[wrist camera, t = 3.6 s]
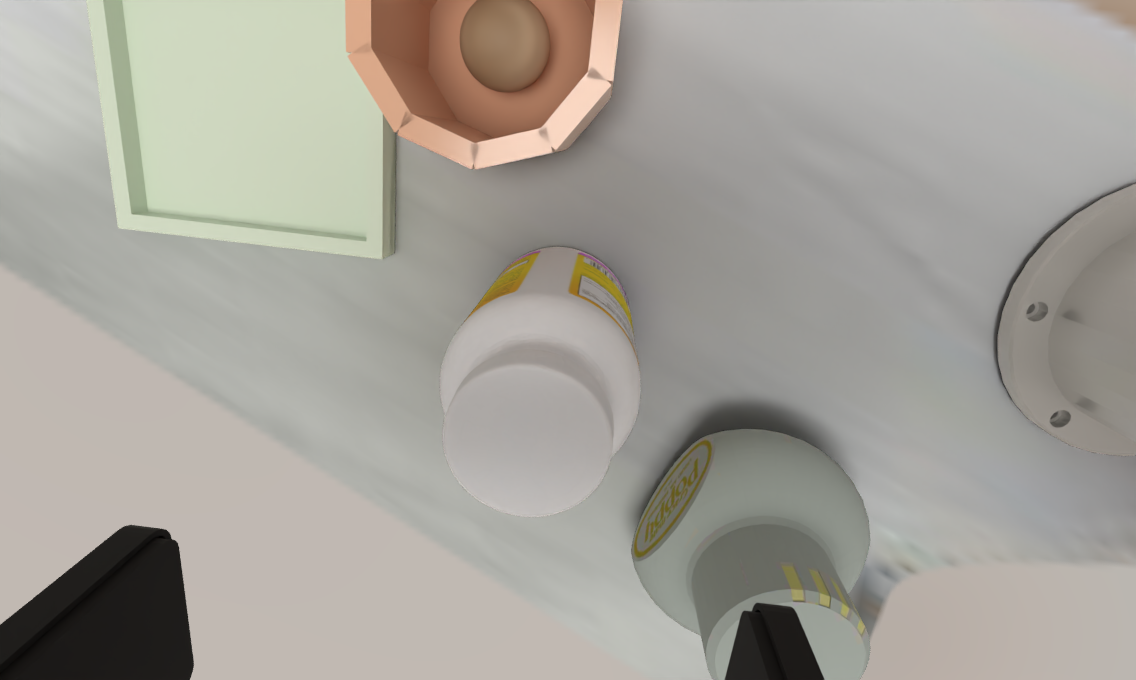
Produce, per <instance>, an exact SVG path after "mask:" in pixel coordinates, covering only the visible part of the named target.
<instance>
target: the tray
mask: <svg viewBox="0 0 1136 680" xmlns="http://www.w3.org/2000/svg"><path fill="white" fill-rule="evenodd" d="M86 2H87V9H88V17H89V24H90V31H91V38H92V45H93V52H94V59H95V66H96V74H97V81H98V88H99V95H100V102H101V109H102V116H103V123H104V131H105V138H106V145H107V152H108V159H109V166H110V173H111V180H112V188H113V195H114V202H115V209H116V216H117V223H118V228H121V229H130V230H138V231H147V232H155V233H164V234H172V235H180V236H189V237H197V238H206V239H214V240H223V241H231V242H240V243H248V244H257V245H265V246H274V247H282V248H290V249H299V250H307V251H316V252H324V253H333V254H341V255H350V256H358V257H367V258H375V259H384V258H386V257H388V256H390V255H392V254H394V253H395V172H396V132H394V131H393V129H392V127H391V126H390V124H389V123H388V121H387V119H386V118H385V116H384V115H383V113H382V111H381V110H380V108H379V107H378V105H377V103H376V102H375V100H374V99H373V97H372V95H371V94H370V92H369V90H368V89H367V87H366V86H365V84H364V82H363V81H362V79H361V78H360V76H359V74H358V73H357V71H356V70H355V68H354V66H353V65H352V63H351V61H350V60H349V58H348V57H347V56H348V55H349V54H350V53H348V52H346V23H345V0H86Z"/></svg>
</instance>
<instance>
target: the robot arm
mask: <svg viewBox="0 0 1136 680" xmlns="http://www.w3.org/2000/svg"><path fill="white" fill-rule="evenodd" d="M998 363H999V367H1000V371H1001V375H1002V379H1003V383H1004V385H1005V387H1006V389H1007V391H1008V393H1009V395H1010V396H1011V398H1012V400H1013V402H1014V403H1015V405H1016V406H1017V407H1018V408H1019V409H1020V410H1021V411H1022V412H1023V414H1024V415H1025V416H1026V417H1027V418H1028V419H1029V420H1030V421H1032V422H1033V423H1035V424H1036V425H1037V426H1039V427H1040V428H1042V429H1043V430H1044V431H1046V432H1047V433H1049V434H1050V435H1052V436H1054V437H1056V438H1057V439H1059V440H1061V441H1063V442H1065V443H1066V444H1068V445H1070V446H1073V447H1077V448H1080V449H1083V450H1086V451H1089V452H1093V453H1099V454H1107V455H1115V456H1133V455H1136V184H1133V185H1131V186H1129V187H1126V188H1124V189H1122V190H1119V191H1117V192H1115V193H1112V194H1110V195H1108V196H1105V197H1103V198H1102V199H1100V200H1098V201H1097V202H1095V203H1093V204H1092V205H1090V206H1089V207H1087V208H1085V209H1084V210H1082V211H1080V212H1079V213H1077V214H1076V215H1074V216H1073V217H1072V218H1071V219H1070V220H1068V221H1067V222H1066V223H1065V224H1064V225H1062V226H1061V227H1060V228H1059V229H1058V230H1056V231H1055V232H1054V233H1053V234H1052V235H1051V236H1050V237H1049V238H1048V239H1047V240H1046V241H1045V242H1044V243H1043V245H1042V246H1041V247H1040V248H1039V249H1038V250H1037V251H1036V252H1035V254H1034V255H1033V256H1032V257H1031V258H1030V259H1029V261H1028V262H1027V264H1026V266H1025V267H1024V269H1023V270H1022V272H1021V274H1020V275H1019V277H1018V278H1017V280H1016V281H1015V283H1014V285H1013V287H1012V289H1011V292H1010V294H1009V297H1008V299H1007V302H1006V304H1005V306H1004V309H1003V312H1002V317H1001V322H1000V327H999V332H998ZM193 662H194V661H193V654H192V645H191V638H190V630H189V622H188V614H187V606H186V599H185V591H184V583H183V575H182V568H181V560H180V552H179V546H178V543H177V542H176V541H175V540H172V539H171V535H170V533H169V532H168V531H167V530H164V529H159V528H151V527H142V526H135V525H129V526H125V527H123V528H121V529H119V530H118V531H117V532H116V533H114V534H113V535H112V536H110V537H109V538H108V539H107V540H105V541H104V542H103V543H102V544H100V545H99V546H98V547H97V548H95V550H93V551H92V552H90V553H89V554H88V555H87V556H85V557H84V558H83V559H82V560H80V561H79V562H78V563H77V564H75V565H74V566H73V567H72V568H70V569H69V570H68V571H67V572H66V573H64V574H63V575H62V576H61V577H59V578H58V579H57V580H56V581H54V582H53V583H52V584H51V585H49V586H48V587H47V588H46V589H44V590H43V591H42V592H41V593H39V594H38V595H37V596H36V597H34V598H33V599H32V600H31V601H29V602H28V603H27V604H26V605H24V606H23V607H22V608H21V609H19V610H18V611H17V612H16V613H14V614H13V615H12V616H11V617H10V618H8V619H7V620H6V621H4V622H3V623H2V624H1V625H0V680H190V678H191V674H192V672H193V666H194V663H193ZM725 680H825V679H824V677H823V675H822V672H821V670H820V667H819V665H818V663H817V660H816V658H815V655H814V653H813V651H812V648H811V646H810V644H809V641H808V639H807V636H806V634H805V632H804V629H803V627H802V624H801V622H800V620H799V617H798V615H797V613H796V611H795V609H794V608H792V607H790V606H782V605H774V604H766V603H756V604H755V605H754V606H753V609H752V611H743V612H742V614H741V617H740V621H739V625H738V629H737V633H736V637H735V641H734V645H733V648H732V652H731V656H730V660H729V664H728V668H727V672H726V676H725Z"/></svg>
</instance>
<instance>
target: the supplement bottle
mask: <svg viewBox="0 0 1136 680" xmlns="http://www.w3.org/2000/svg"><path fill="white" fill-rule="evenodd" d="M440 397H441V403H442V408H443V411H444V415H445V418H444V423H443V430H442V442H443V448H444V454H445V457H446V460H447V462H448V465H449V467H450V469H451V471H452V473H453V475H454V476H455V478H456V479H457V481H458V482H459V483H460V484H461V486H462V487H463V488H464V489H465V490H466V491H467V492H468V493H469V494H470V495H472V496H473V497H474V498H475V499H477V500H478V501H480V502H481V503H483V504H485V505H487V506H489V507H491V508H493V509H495V510H498V511H500V512H503V513H506V514H510V515H516V516H523V517H542V516H548V515H553V514H556V513H560V512H563V511H566V510H568V509H570V508H572V507H574V506H576V505H578V504H579V503H581V502H582V501H584V500H585V499H586V498H587V497H589V496H590V495H591V494H592V493H593V492H594V491H595V489H596V488H597V487H598V486H599V484H600V483H601V481H602V480H603V478H604V476H605V474H606V472H607V470H608V468H609V464H610V461H611V457H612V456H613V455H614V454H615V453H616V452H617V451H618V450H619V449H620V448H621V446H622V445H623V444H624V442H625V441H626V439H627V438H628V436H629V434H630V433H631V431H632V429H633V426H634V424H635V421H636V419H637V415H638V412H639V406H640V398H641V379H640V370H639V363H638V357H637V351H636V345H635V339H634V332H633V326H632V320H631V313H630V308H629V304H628V301H627V297H626V295H625V292H624V290H623V288H622V286H621V284H620V282H619V280H618V279H617V278H616V276H615V275H614V274H613V272H612V271H611V270H610V269H609V268H608V267H607V266H606V265H605V264H603V263H602V262H601V261H599V260H598V259H597V258H595V257H593V256H591V255H589V254H587V253H585V252H582V251H579V250H576V249H573V248H566V247H548V248H542V249H538V250H535V251H532V252H529V253H527V254H525V255H523V256H521V257H520V258H518V259H517V260H515V261H514V262H513V263H511V264H510V265H509V266H508V267H507V268H506V269H505V270H504V271H503V272H502V273H501V275H500V276H499V277H498V278H497V280H496V281H495V282H494V283H493V285H492V286H491V287H490V289H489V290H488V291H487V293H486V294H485V295H484V297H483V298H482V299H481V301H480V302H479V303H478V305H477V306H476V307H475V309H474V310H473V311H472V313H471V314H470V315H469V316H468V318H467V319H466V320H465V321H464V323H463V324H462V325H461V327H460V328H459V329H458V331H457V332H456V334H455V335H454V337H453V338H452V340H451V342H450V344H449V346H448V348H447V350H446V352H445V356H444V359H443V362H442V366H441V371H440Z"/></svg>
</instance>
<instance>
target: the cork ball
mask: <svg viewBox="0 0 1136 680" xmlns="http://www.w3.org/2000/svg"><path fill="white" fill-rule="evenodd" d="M459 39H460V50H461V54H462V58H463V60H464V63H465V65H466V67H467V69H468V70H469V72H470V73H471V74H472V75H473V77H474V78H475V79H476V80H477V81H479V82H480V83H481V84H482V85H484V86H485V87H487V88H489V89H491V90H494V91H498V92H508V93H509V92H516V91H520V90H522V89H525V88H527V87H528V86H530V85H531V84H533V83H534V82H535V81H536V80H537V79H538V78H539V77H540V75H541V74H542V73H543V71H544V69H545V67H546V65H547V62H548V59H549V55H550V34H549V29H548V26H547V23H546V21H545V19H544V17H543V15H542V14H541V12H540V11H539V9H538V8H537V7H536V6H535V5H534V4H533V3H532V2H531V1H530V0H477V1H476V2H475V3H474V4H473V5H472V6H471V7H470V8H469V10H468V11H467V13H466V15H465V17H464V19H463V21H462V24H461V29H460V37H459Z"/></svg>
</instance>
